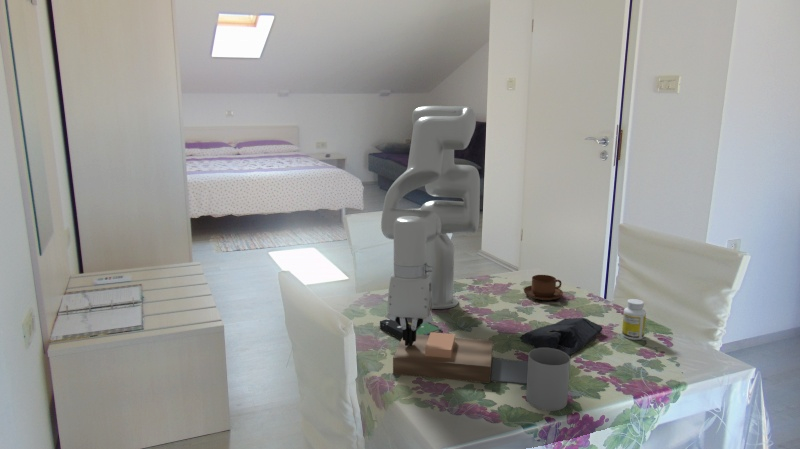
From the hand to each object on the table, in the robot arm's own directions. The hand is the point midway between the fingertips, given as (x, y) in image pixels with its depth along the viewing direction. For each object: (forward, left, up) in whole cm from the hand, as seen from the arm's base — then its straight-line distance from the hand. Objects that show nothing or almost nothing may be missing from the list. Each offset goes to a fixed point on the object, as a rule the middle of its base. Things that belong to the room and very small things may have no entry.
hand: (409, 343), depth 139 cm
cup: (+12, +31, -5) cm, 34 cm away
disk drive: (-17, -3, -5) cm, 18 cm away
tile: (0, +7, -1) cm, 7 cm away
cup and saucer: (-53, +33, -5) cm, 63 cm away
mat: (+1, +26, -5) cm, 26 cm away
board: (0, +8, -5) cm, 10 cm away
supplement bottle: (-26, +55, -5) cm, 61 cm away
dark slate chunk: (-21, +38, -5) cm, 43 cm away
